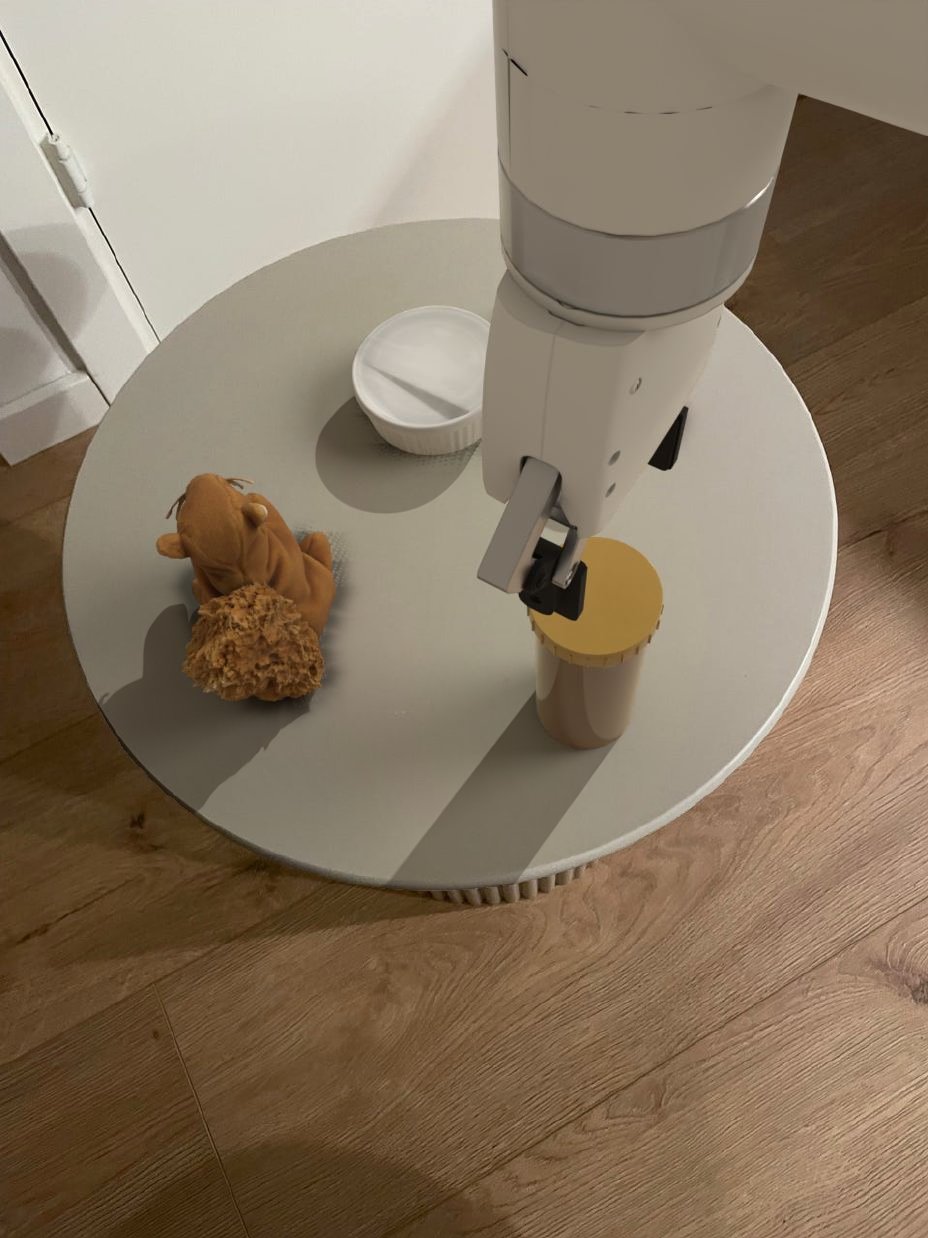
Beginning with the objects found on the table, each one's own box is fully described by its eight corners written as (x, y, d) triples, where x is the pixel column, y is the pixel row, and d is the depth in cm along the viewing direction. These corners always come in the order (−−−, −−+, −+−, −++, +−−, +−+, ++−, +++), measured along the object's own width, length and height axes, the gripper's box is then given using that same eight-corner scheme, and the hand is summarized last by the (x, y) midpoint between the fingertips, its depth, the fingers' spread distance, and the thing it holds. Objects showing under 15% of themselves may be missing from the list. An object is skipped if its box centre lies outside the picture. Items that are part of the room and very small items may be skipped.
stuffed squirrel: (329, 530, 71) (286, 412, 59) (368, 709, 64) (329, 617, 52) (191, 564, 70) (120, 453, 58) (216, 748, 64) (143, 664, 52)
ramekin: (356, 474, 73) (343, 429, 68) (367, 355, 78) (356, 306, 73) (510, 471, 72) (507, 426, 67) (511, 351, 77) (509, 301, 72)
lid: (614, 529, 52) (616, 514, 51) (687, 628, 50) (691, 615, 48) (502, 587, 51) (501, 573, 50) (571, 692, 49) (572, 680, 47)
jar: (598, 651, 65) (613, 527, 51) (649, 727, 62) (679, 617, 49) (518, 694, 64) (512, 579, 50) (567, 772, 61) (574, 673, 48)
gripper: (652, -12, 32) (612, 358, 48) (348, 355, 26) (416, 642, 42) (877, 55, 30) (758, 419, 46) (604, 471, 24) (575, 727, 40)
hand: (595, 524), depth 44 cm, fingers open, 8 cm apart
